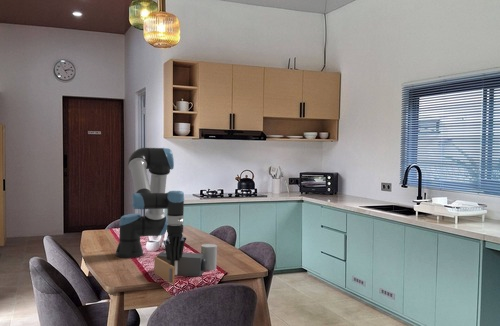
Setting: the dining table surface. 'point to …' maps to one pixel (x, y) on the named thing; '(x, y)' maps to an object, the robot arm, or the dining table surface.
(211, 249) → the cup
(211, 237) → the dining table surface
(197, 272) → the camera body
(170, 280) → the side door
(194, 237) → the dining table surface
